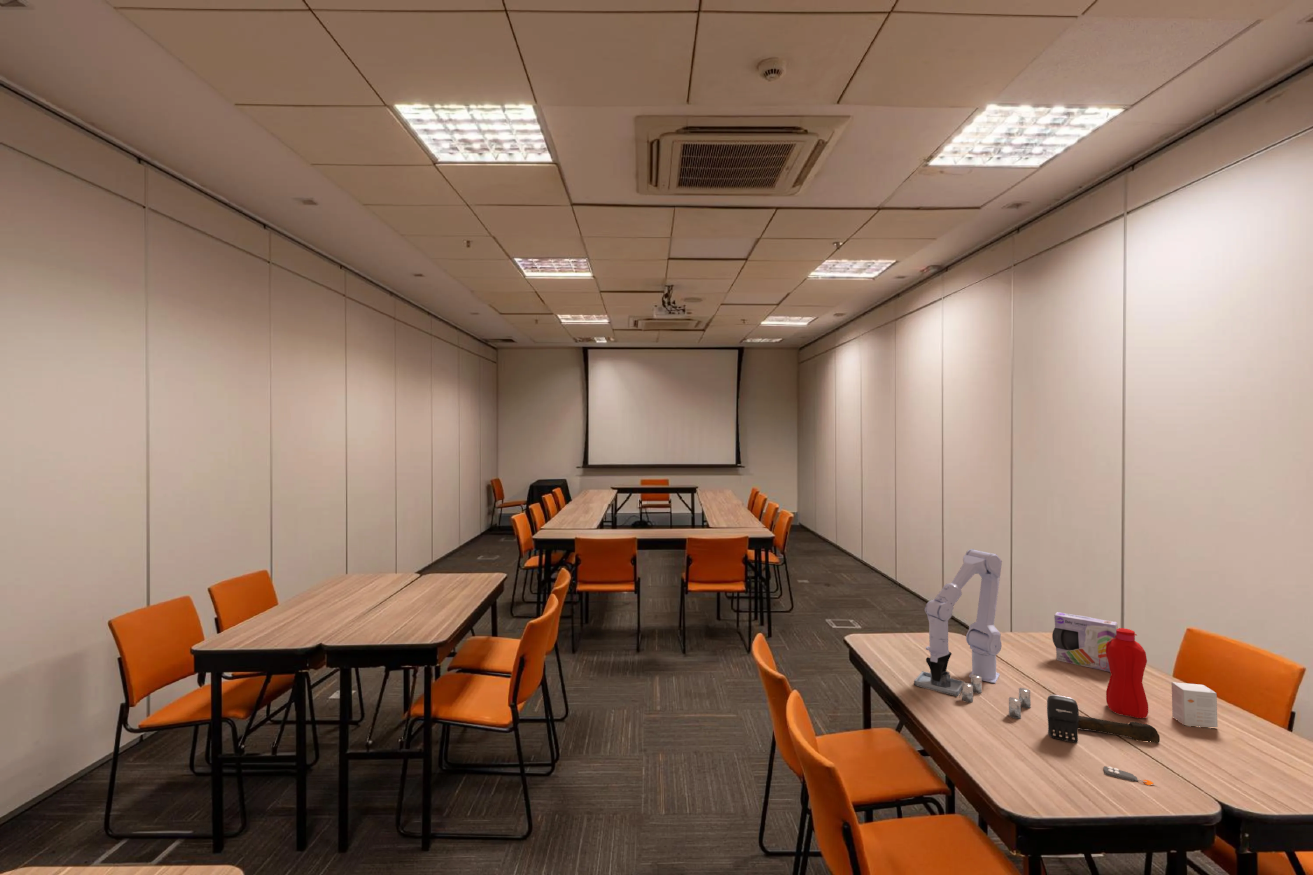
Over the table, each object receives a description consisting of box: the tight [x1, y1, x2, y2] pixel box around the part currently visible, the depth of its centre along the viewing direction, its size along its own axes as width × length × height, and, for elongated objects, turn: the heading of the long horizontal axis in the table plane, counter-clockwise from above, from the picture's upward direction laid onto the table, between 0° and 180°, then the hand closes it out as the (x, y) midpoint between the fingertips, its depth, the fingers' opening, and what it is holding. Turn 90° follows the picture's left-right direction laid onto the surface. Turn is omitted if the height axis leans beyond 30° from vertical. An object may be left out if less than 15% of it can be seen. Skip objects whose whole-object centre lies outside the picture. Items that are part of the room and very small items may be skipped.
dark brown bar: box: [1078, 715, 1160, 743], centre depth 152 cm, size 19×4×5 cm, turn 61°
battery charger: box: [1046, 694, 1080, 743], centre depth 150 cm, size 7×4×11 cm, turn 61°
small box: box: [1171, 681, 1219, 728], centre depth 158 cm, size 8×6×10 cm
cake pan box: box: [1051, 611, 1119, 673], centre depth 200 cm, size 19×5×18 cm, turn 42°
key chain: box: [1103, 765, 1154, 786], centre depth 132 cm, size 13×4×2 cm, turn 54°
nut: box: [929, 669, 951, 688], centre depth 184 cm, size 6×6×4 cm
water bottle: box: [1099, 627, 1149, 720], centre depth 166 cm, size 9×11×25 cm
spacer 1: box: [961, 682, 974, 703], centre depth 173 cm, size 3×3×5 cm
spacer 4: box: [1018, 687, 1032, 709], centre depth 169 cm, size 3×3×5 cm
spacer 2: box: [970, 674, 983, 694], centre depth 179 cm, size 3×3×5 cm
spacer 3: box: [1008, 697, 1022, 720], centre depth 163 cm, size 3×3×5 cm
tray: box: [913, 670, 965, 697], centre depth 184 cm, size 10×13×2 cm
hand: (939, 676), depth 184 cm, fingers open, 7 cm apart
